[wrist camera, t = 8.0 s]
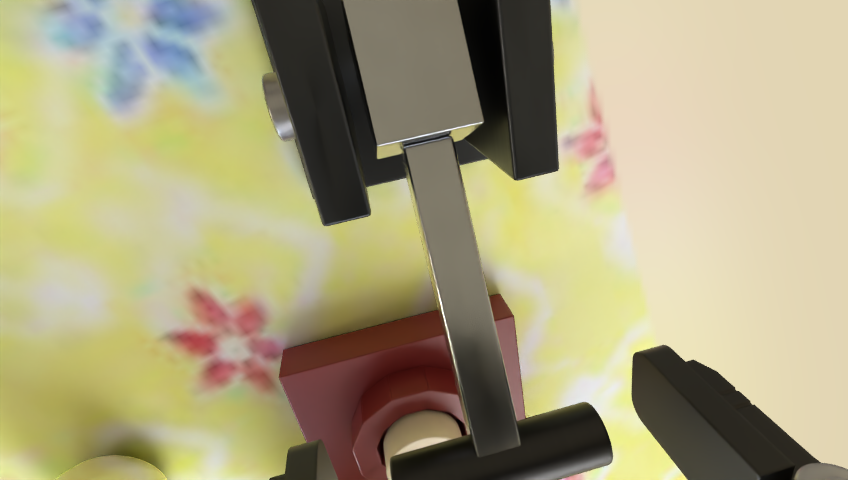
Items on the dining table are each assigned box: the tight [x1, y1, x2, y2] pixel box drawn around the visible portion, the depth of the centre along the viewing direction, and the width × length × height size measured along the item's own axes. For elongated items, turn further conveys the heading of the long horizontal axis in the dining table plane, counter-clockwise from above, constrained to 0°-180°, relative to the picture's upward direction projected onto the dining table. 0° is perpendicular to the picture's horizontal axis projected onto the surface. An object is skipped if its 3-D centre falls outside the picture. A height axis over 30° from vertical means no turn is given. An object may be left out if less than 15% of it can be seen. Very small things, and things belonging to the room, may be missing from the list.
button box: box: [279, 294, 526, 480], centre depth 25 cm, size 12×10×4 cm
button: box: [383, 410, 462, 480], centre depth 22 cm, size 4×4×2 cm
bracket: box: [251, 0, 559, 226], centre depth 13 cm, size 10×8×12 cm
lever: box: [341, 0, 613, 480], centre depth 10 cm, size 11×5×2 cm, turn 12°
